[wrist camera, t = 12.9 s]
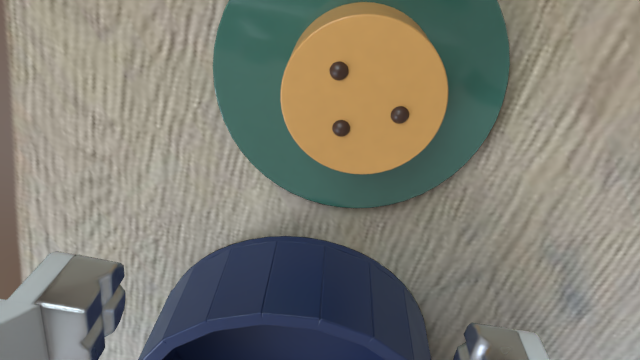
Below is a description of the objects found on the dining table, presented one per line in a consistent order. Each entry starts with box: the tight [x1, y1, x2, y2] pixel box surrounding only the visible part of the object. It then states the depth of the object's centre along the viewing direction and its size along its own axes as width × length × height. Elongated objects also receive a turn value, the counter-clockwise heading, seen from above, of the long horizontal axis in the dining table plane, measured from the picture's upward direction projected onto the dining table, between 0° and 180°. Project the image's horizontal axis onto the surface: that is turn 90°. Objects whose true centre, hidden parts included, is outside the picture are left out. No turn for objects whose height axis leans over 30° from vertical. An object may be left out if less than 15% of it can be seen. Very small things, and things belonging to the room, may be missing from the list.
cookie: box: [280, 2, 448, 174], centre depth 18 cm, size 6×6×3 cm
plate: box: [213, 0, 510, 208], centre depth 19 cm, size 12×12×1 cm
